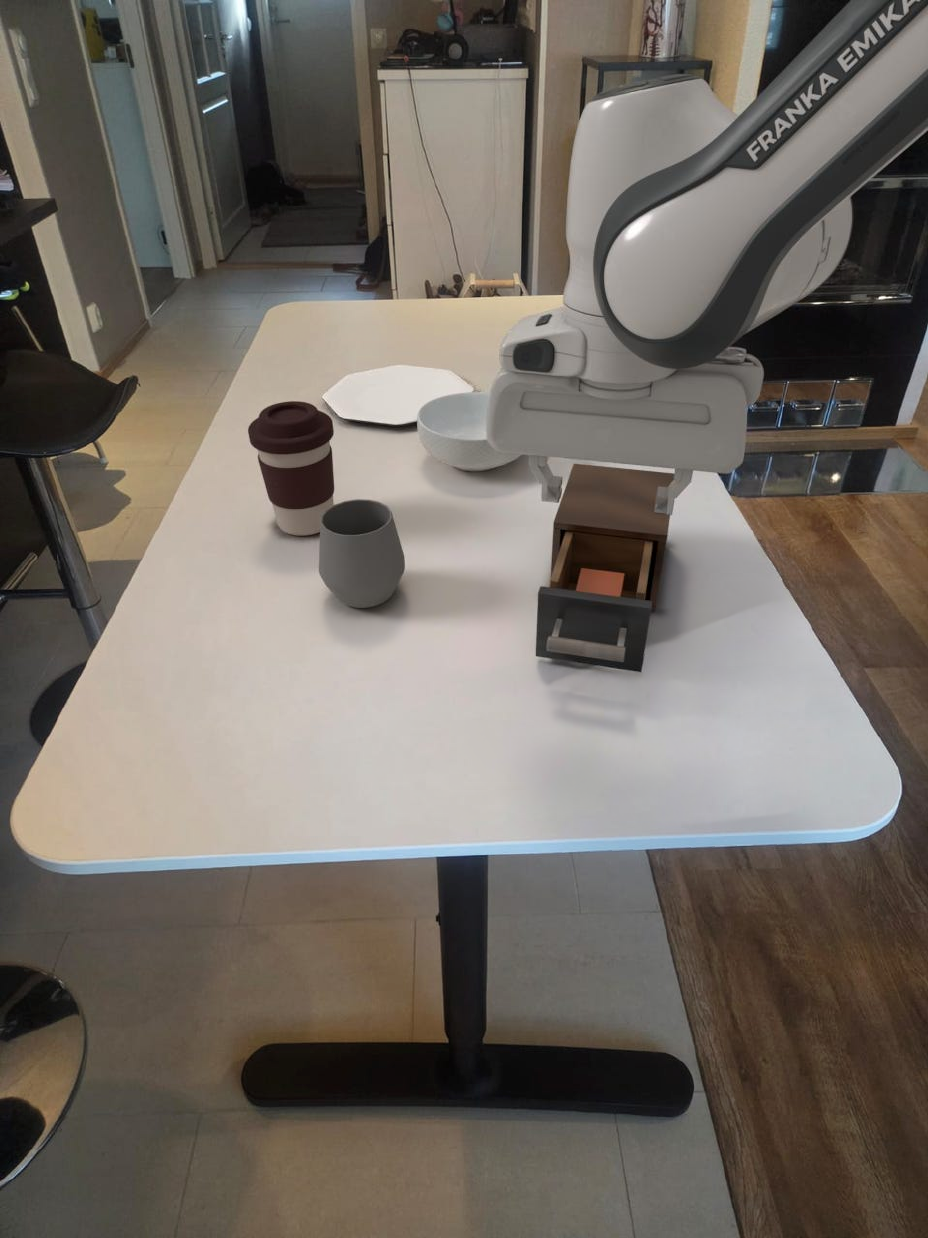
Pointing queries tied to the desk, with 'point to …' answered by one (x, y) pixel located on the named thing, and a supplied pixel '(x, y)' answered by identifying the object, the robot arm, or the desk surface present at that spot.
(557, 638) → the drawer
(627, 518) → the cabinet
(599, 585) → the block
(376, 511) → the cup
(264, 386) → the desk surface
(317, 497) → the coffee cup
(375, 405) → the plate
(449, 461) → the cereal bowl
